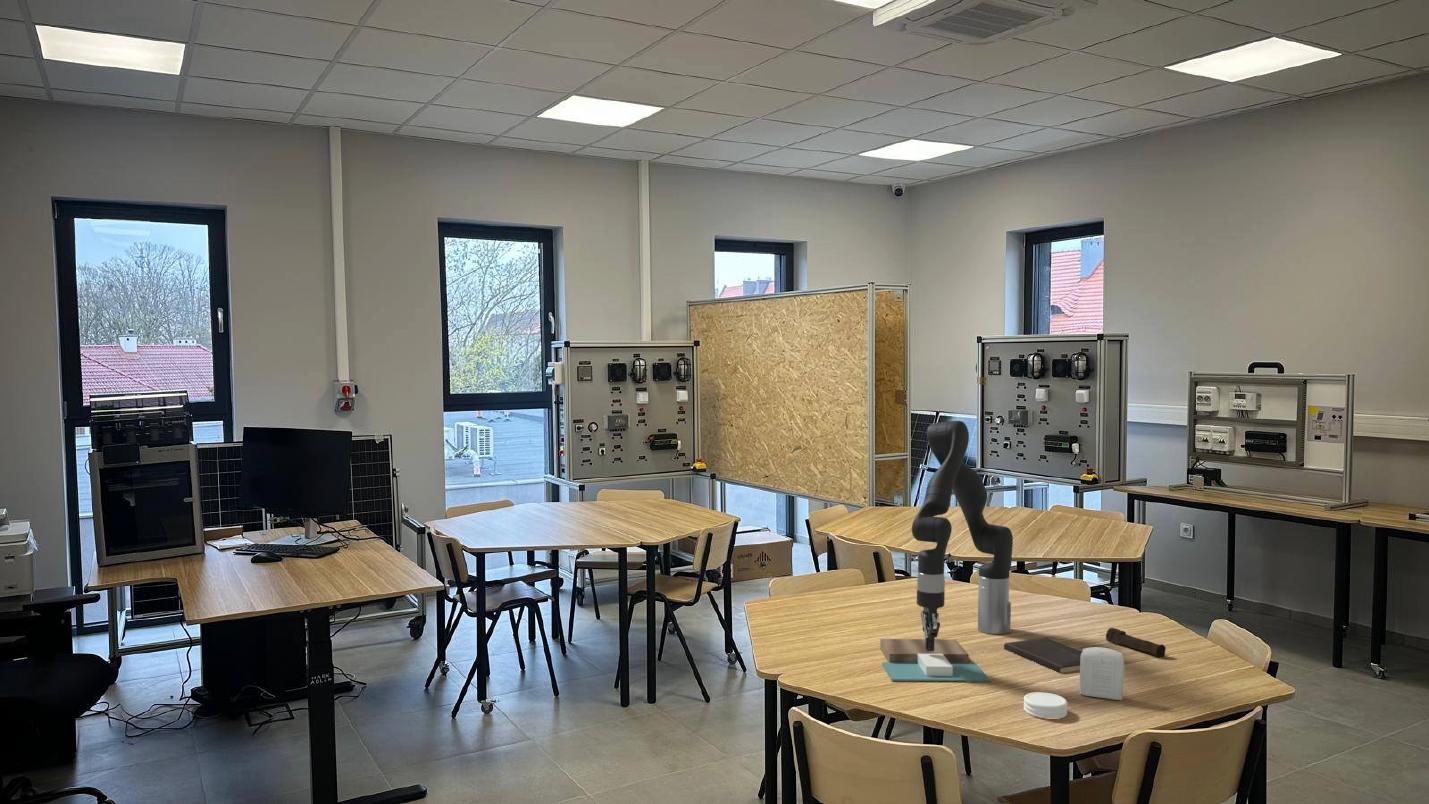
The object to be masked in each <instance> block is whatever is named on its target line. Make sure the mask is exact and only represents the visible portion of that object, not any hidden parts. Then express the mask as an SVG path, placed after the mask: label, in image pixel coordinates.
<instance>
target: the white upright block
mask: <svg viewBox="0 0 1429 804" xmlns="http://www.w3.org/2000/svg"><path fill="white" fill-rule="evenodd" d="M1124 675H1125V661H1124V657H1123V653H1121V652H1120V651H1118V650H1114V649H1111V648H1107V647H1100V646H1094V647H1093V646H1091V647H1086V648H1082V653H1081V657H1080V670H1079V684H1078V685H1079V688H1078V693H1079V695H1081V694H1082V695H1081V696H1087V697H1093V698H1101V699H1107V700H1117V701H1123V699H1124Z"/></svg>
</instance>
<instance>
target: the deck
mask: <svg viewBox="0 0 1429 804" xmlns="http://www.w3.org/2000/svg"><path fill="white" fill-rule="evenodd" d="M879 641H880V642H879V643H880V649H879V650H880V651H881V653H882V652H883V653H882V654H883V656H884V658H885V659H886V662H917V654H943V655H944V656H945V658H946V659H947V660H948V661H949V663H969V656H970V655H969V653H968V652H967V651H966V649H965V648H964V647H963V646H962V645H961V644H960V643H959V641H957V639H952V638H951V639H950V638H949V639H948V638H946V639H944V638H943V639H938V638H935V639H934V651H927V650H926V649H925V639H924V638H923V639H922V638H915V639H914V638H880V639H879Z"/></svg>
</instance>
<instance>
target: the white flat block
mask: <svg viewBox="0 0 1429 804" xmlns="http://www.w3.org/2000/svg"><path fill="white" fill-rule="evenodd" d="M917 663H918V664H919V666H920V667H921V669H922V670H923V672H924V673H925V675H926V676H953V666H952V665H951V664H950V663H949V661H948V660H947V659H946V658H945V656H944V655H943V654H917Z"/></svg>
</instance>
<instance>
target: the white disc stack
mask: <svg viewBox="0 0 1429 804" xmlns="http://www.w3.org/2000/svg"><path fill="white" fill-rule="evenodd" d="M1023 700H1024V701H1023V711H1024V710H1025V711H1026V712H1027V713H1029V714H1031V715H1034V716H1037V717H1042V718H1051V719H1052V718H1053V719H1054V718H1062V717H1065V716H1066V715H1067V716H1068V705H1069V704H1068V701H1067V699H1066V698H1064V697H1063V696H1061V695H1059V694H1054V693H1052V692H1051V693H1050V692H1040V691H1035V692H1034V691H1033V692H1029V693H1027V694H1026V695H1024V697H1023ZM1025 711H1024V712H1025ZM1026 712H1025V713H1026ZM1027 713H1026V714H1027ZM1029 714H1028V715H1029ZM1031 715H1030V716H1031ZM1067 716H1066V717H1067ZM1066 717H1065V718H1066Z"/></svg>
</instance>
